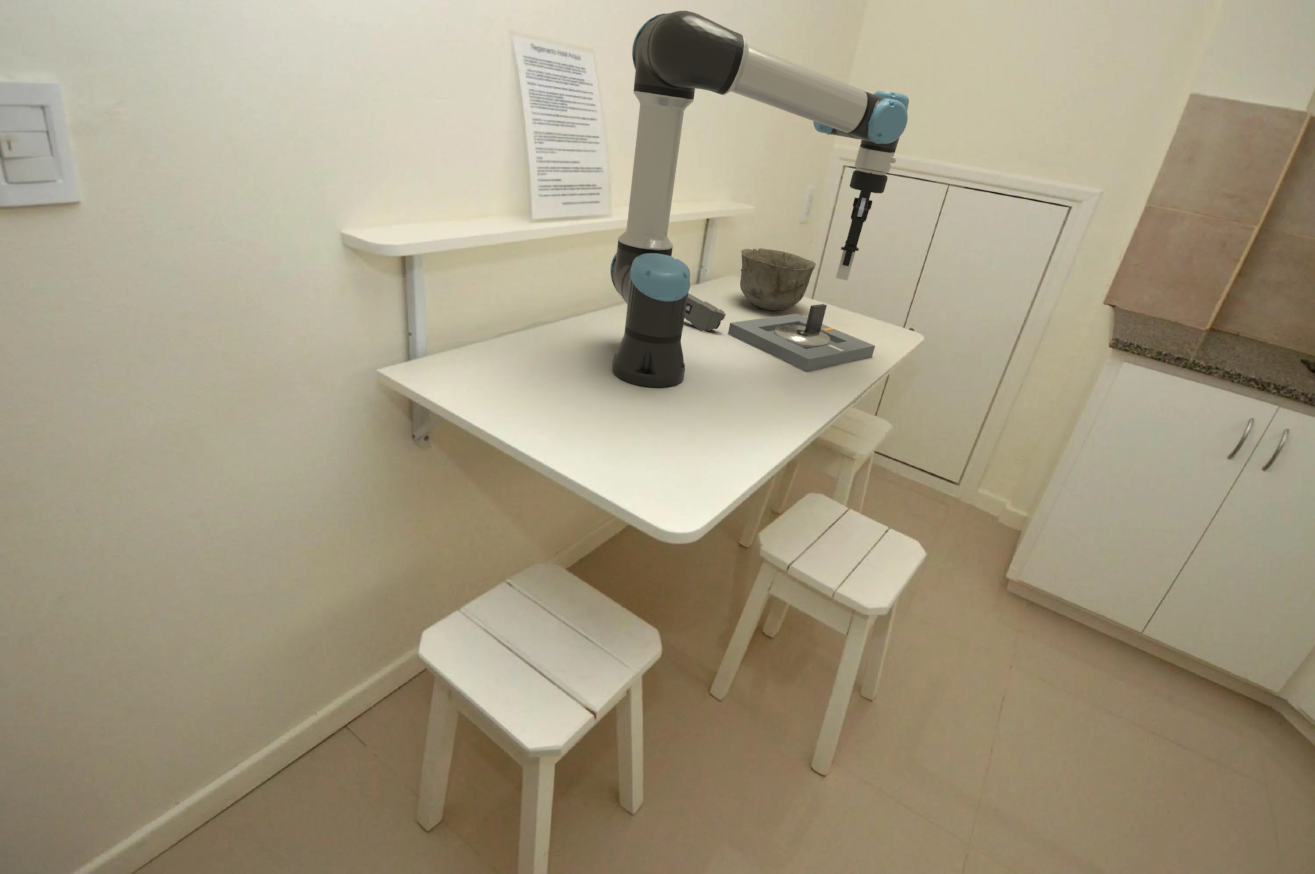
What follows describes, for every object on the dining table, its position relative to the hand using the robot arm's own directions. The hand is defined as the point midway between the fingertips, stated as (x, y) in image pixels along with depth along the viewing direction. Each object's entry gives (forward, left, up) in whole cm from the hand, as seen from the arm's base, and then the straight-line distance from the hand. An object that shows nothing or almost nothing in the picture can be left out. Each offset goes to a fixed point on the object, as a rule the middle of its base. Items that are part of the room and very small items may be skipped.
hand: (841, 278), depth 154 cm
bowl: (+16, +34, -19) cm, 42 cm away
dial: (-1, +7, -17) cm, 19 cm away
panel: (-1, +7, -19) cm, 20 cm away
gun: (-21, +33, -20) cm, 44 cm away
